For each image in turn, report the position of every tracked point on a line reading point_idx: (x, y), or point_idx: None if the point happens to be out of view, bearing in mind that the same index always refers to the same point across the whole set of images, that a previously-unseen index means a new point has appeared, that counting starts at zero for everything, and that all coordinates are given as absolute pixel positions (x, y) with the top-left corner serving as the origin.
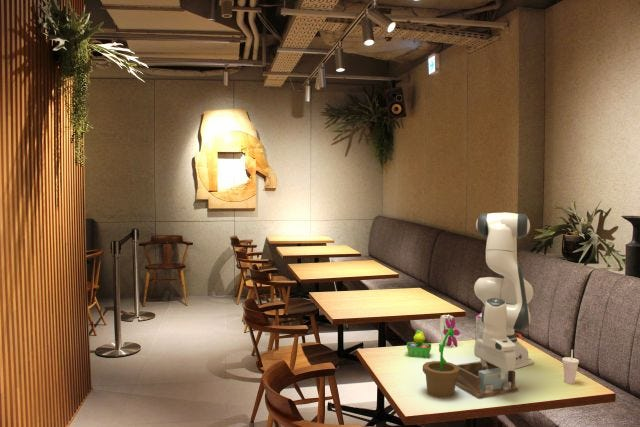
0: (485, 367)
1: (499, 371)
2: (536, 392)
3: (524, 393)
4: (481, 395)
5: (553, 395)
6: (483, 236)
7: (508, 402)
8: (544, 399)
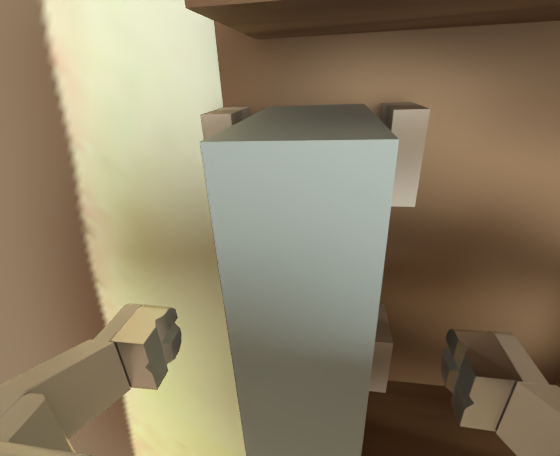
0: (469, 378)
1: (240, 409)
2: (217, 415)
3: (221, 367)
4: (220, 33)
5: (167, 439)
6: None
7: (112, 195)
8: None
